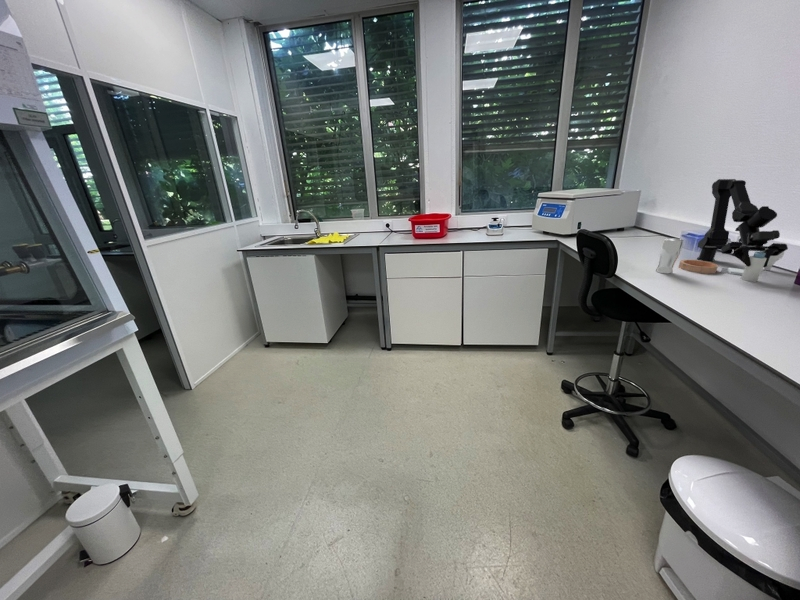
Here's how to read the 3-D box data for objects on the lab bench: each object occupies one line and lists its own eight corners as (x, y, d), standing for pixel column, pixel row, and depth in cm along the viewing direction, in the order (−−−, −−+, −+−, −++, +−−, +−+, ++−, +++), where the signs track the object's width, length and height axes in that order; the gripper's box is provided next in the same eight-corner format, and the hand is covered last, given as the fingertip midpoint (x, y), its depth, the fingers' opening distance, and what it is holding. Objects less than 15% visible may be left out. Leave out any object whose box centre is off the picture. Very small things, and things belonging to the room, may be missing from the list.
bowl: (680, 264, 157) (683, 258, 155) (716, 269, 148) (719, 263, 147) (676, 270, 148) (678, 263, 147) (714, 276, 140) (716, 269, 138)
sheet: (727, 269, 146) (728, 267, 146) (742, 271, 144) (743, 269, 143) (730, 273, 141) (731, 271, 141) (746, 275, 138) (747, 273, 138)
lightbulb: (771, 269, 147) (782, 246, 142) (778, 273, 141) (789, 249, 137) (752, 268, 149) (762, 244, 145) (759, 271, 144) (769, 247, 140)
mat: (721, 268, 149) (722, 267, 149) (752, 273, 142) (752, 272, 142) (720, 273, 143) (720, 272, 143) (752, 278, 136) (752, 277, 136)
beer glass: (666, 269, 149) (677, 237, 143) (677, 274, 142) (688, 241, 137) (650, 269, 150) (660, 237, 144) (660, 274, 143) (670, 241, 137)
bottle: (740, 278, 137) (751, 250, 132) (756, 280, 133) (768, 252, 129) (740, 280, 134) (751, 252, 129) (756, 283, 130) (769, 254, 126)
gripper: (736, 222, 131) (743, 254, 125) (795, 223, 125) (805, 257, 120) (718, 237, 141) (723, 268, 135) (772, 239, 135) (780, 271, 130)
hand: (757, 266), depth 130 cm, fingers closed on bottle, 5 cm apart
